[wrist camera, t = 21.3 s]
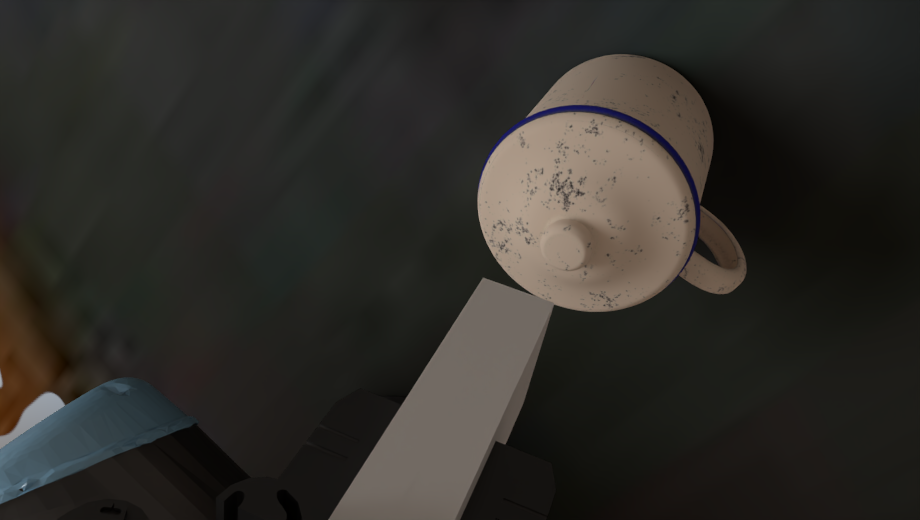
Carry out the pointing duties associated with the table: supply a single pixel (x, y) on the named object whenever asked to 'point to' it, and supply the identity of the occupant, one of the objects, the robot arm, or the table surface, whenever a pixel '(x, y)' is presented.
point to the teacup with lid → (607, 190)
